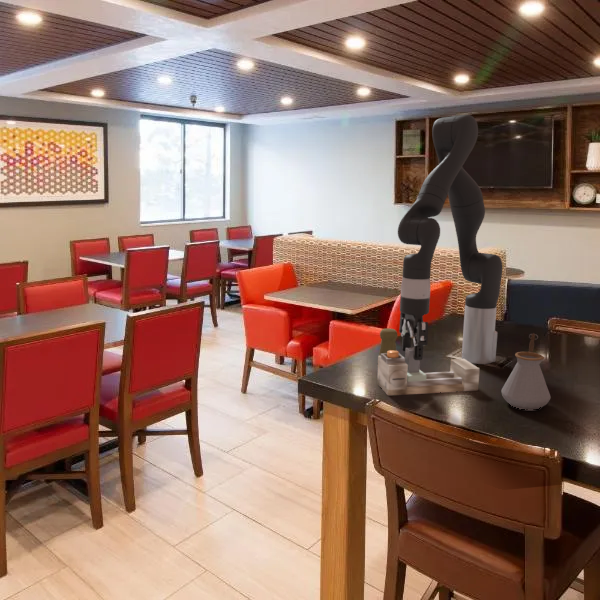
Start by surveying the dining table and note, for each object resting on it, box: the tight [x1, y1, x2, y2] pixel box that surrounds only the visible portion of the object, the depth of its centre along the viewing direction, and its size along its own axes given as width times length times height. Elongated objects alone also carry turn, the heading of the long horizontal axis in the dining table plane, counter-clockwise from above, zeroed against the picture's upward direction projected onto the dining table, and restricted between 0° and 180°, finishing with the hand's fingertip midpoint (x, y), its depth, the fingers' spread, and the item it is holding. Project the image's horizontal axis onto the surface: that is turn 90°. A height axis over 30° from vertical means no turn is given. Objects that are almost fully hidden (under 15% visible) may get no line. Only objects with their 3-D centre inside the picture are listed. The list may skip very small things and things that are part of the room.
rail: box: [376, 352, 480, 396], centre depth 159 cm, size 25×10×9 cm, turn 101°
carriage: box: [404, 346, 427, 382], centre depth 158 cm, size 5×8×8 cm, turn 10°
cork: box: [378, 327, 398, 356], centre depth 179 cm, size 6×6×11 cm
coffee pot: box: [501, 332, 552, 411], centre depth 152 cm, size 21×12×15 cm, turn 155°
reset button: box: [387, 350, 400, 358], centre depth 157 cm, size 3×3×2 cm
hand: (411, 355), depth 158 cm, fingers open, 8 cm apart
